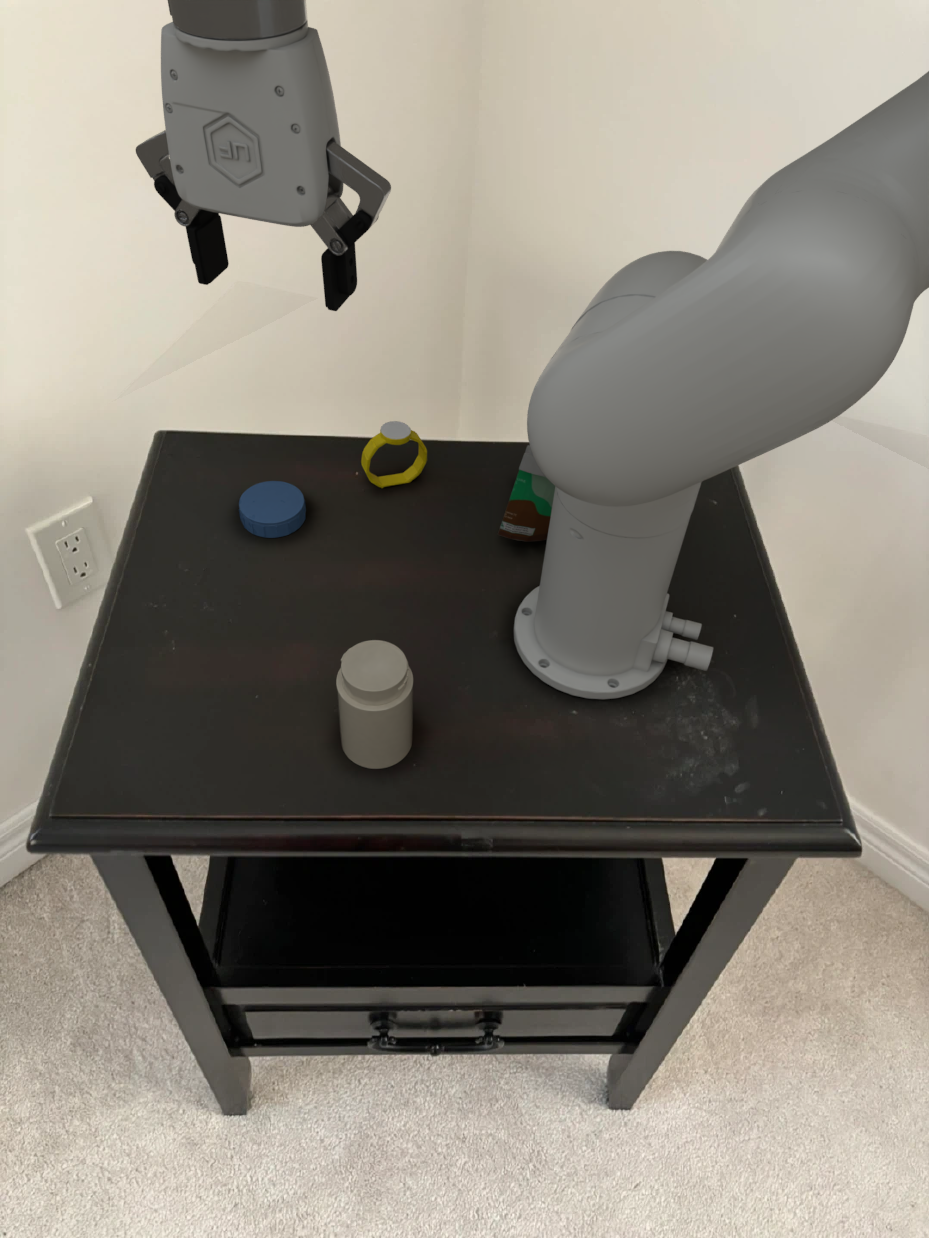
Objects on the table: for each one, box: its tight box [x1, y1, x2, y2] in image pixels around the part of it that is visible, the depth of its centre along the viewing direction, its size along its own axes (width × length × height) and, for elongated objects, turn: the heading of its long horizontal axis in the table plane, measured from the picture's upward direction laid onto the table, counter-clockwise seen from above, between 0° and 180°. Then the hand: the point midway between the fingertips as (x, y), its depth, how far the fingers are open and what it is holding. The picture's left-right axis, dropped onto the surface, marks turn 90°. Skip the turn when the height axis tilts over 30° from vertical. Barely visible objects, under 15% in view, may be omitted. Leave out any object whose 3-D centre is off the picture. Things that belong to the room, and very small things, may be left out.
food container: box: [497, 444, 555, 542], centre depth 81 cm, size 12×6×10 cm, turn 162°
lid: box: [238, 480, 307, 539], centre depth 83 cm, size 6×6×2 cm
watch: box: [360, 420, 428, 489], centre depth 85 cm, size 6×3×6 cm, turn 113°
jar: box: [335, 639, 414, 770], centre depth 65 cm, size 5×5×9 cm
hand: (276, 288), depth 65 cm, fingers open, 9 cm apart
